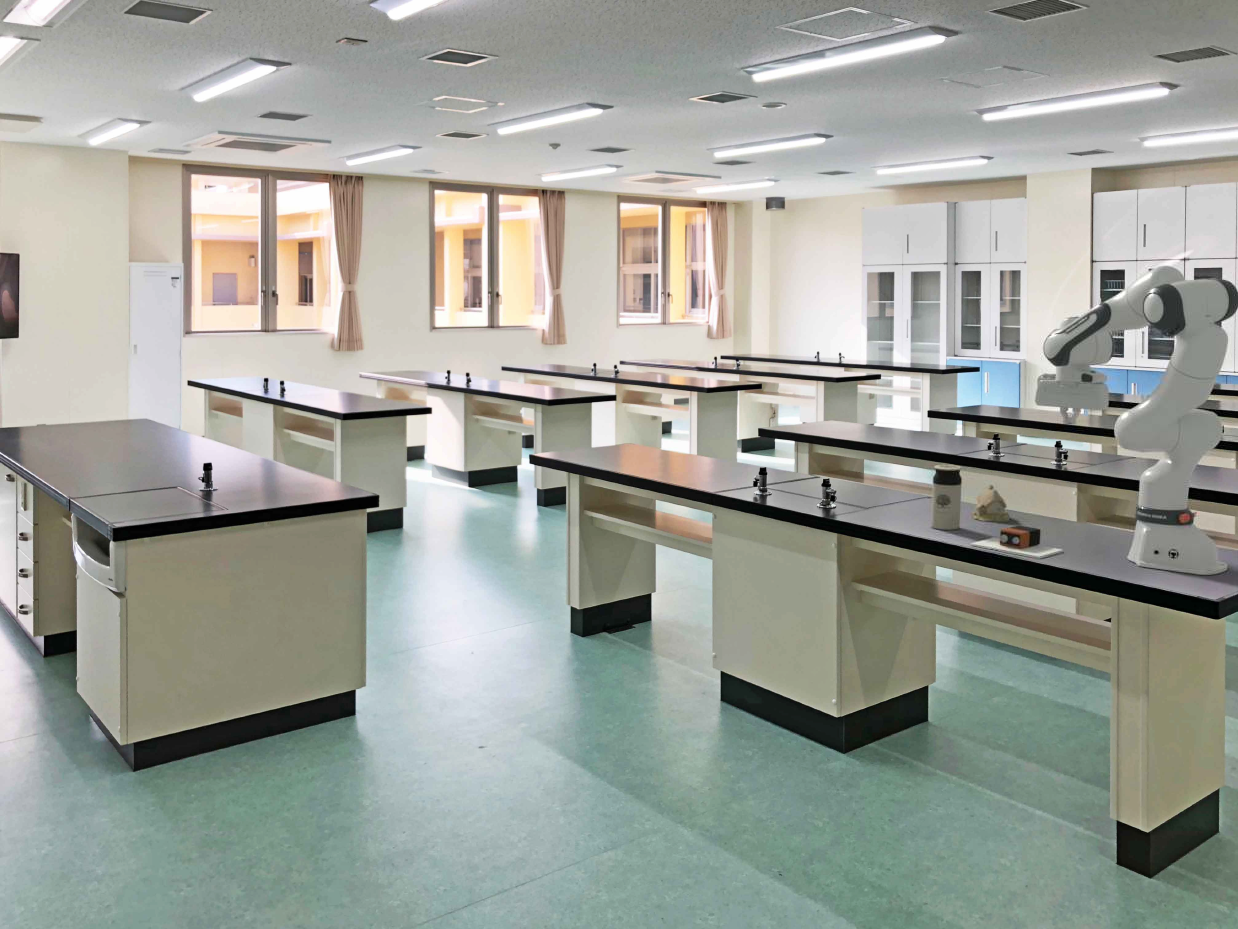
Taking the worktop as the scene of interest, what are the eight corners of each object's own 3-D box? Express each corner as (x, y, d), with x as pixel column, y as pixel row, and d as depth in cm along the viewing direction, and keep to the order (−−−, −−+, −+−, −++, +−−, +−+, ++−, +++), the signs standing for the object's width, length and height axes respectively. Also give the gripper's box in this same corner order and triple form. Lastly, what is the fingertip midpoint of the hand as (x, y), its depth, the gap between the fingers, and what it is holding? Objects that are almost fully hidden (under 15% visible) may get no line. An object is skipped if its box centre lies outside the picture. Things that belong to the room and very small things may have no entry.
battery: (1018, 524, 300) (997, 529, 294) (1041, 528, 294) (1020, 533, 288) (1017, 540, 300) (996, 545, 294) (1040, 544, 295) (1019, 550, 289)
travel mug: (939, 523, 326) (942, 463, 323) (964, 527, 320) (967, 466, 318) (925, 527, 320) (928, 466, 318) (950, 531, 315) (953, 469, 312)
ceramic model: (1015, 522, 329) (1016, 489, 327) (977, 522, 329) (978, 489, 328) (1001, 513, 343) (1002, 481, 341) (964, 513, 343) (966, 481, 342)
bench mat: (1062, 552, 289) (1062, 549, 289) (1039, 558, 282) (1039, 556, 282) (994, 539, 305) (994, 537, 304) (970, 545, 297) (970, 543, 297)
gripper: (1032, 373, 314) (1029, 421, 316) (1102, 377, 299) (1098, 427, 301) (1043, 372, 318) (1040, 420, 320) (1113, 376, 303) (1109, 426, 305)
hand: (1069, 423), depth 310 cm, fingers closed
